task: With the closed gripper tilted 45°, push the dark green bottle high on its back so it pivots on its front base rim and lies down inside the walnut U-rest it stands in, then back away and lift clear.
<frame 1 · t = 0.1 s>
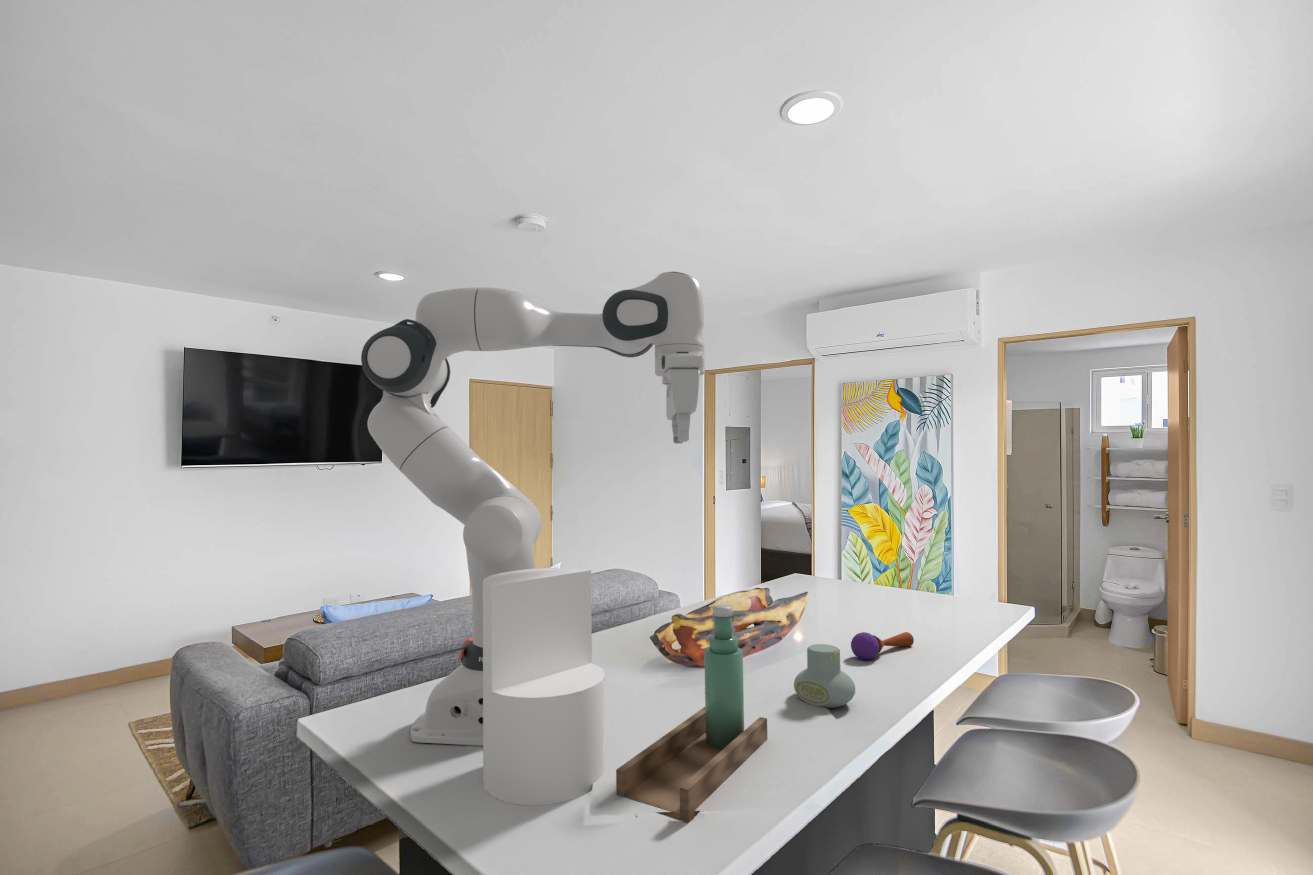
hand: (680, 442, 116), 48 cm above the kitchen island, tool pointing down, fingers open, 8 cm apart
u rest: (698, 769, 95), on the kitchen island
bottle: (725, 741, 102), point 1 cm above the kitchen island, touching u rest
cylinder: (545, 775, 94), on the kitchen island
air freshener: (824, 704, 120), on the kitchen island
purple maraca: (883, 654, 152), on the kitchen island
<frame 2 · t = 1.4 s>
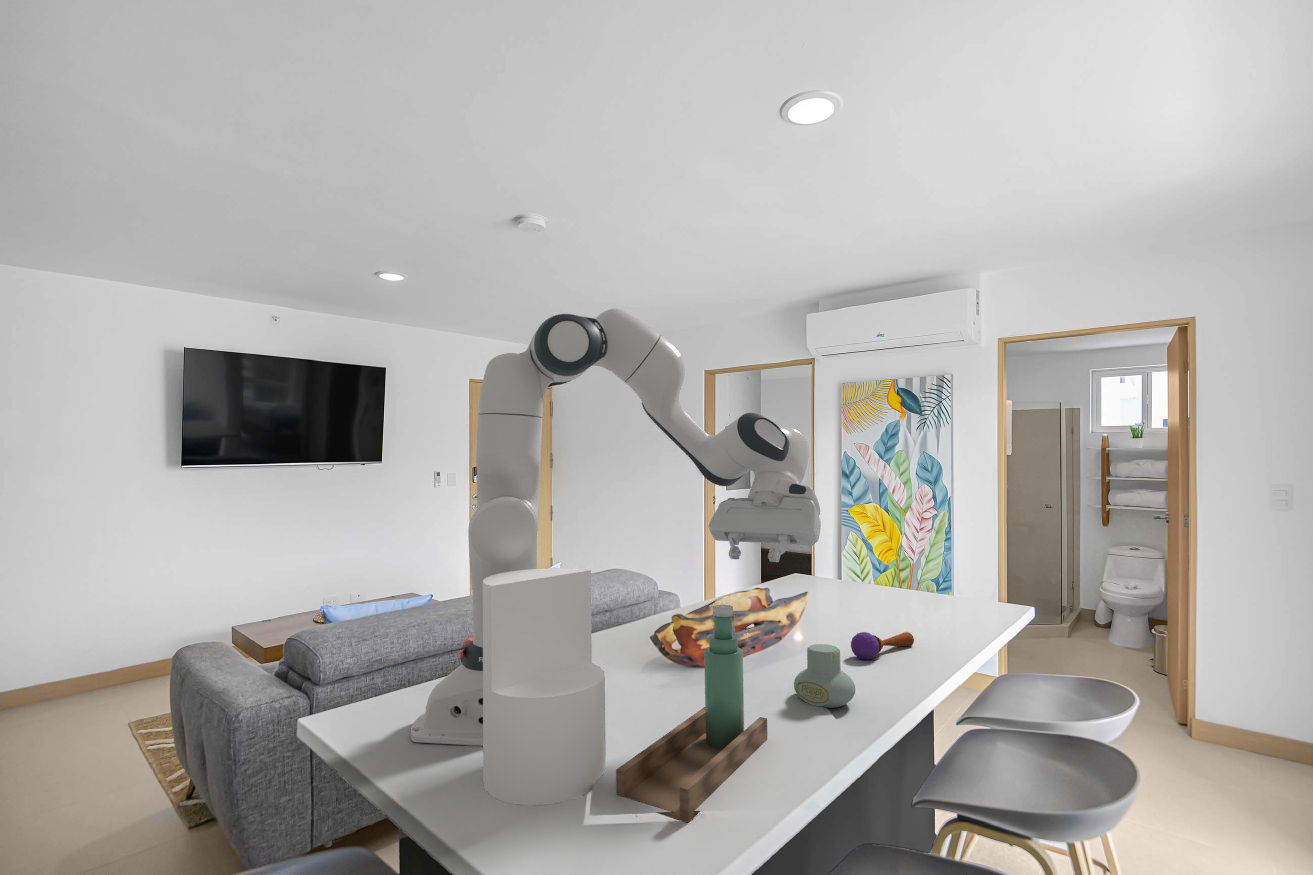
hand: (752, 558, 114), 28 cm above the kitchen island, tool tilted 45°, fingers open, 6 cm apart
nothing on the kitchen island moved.
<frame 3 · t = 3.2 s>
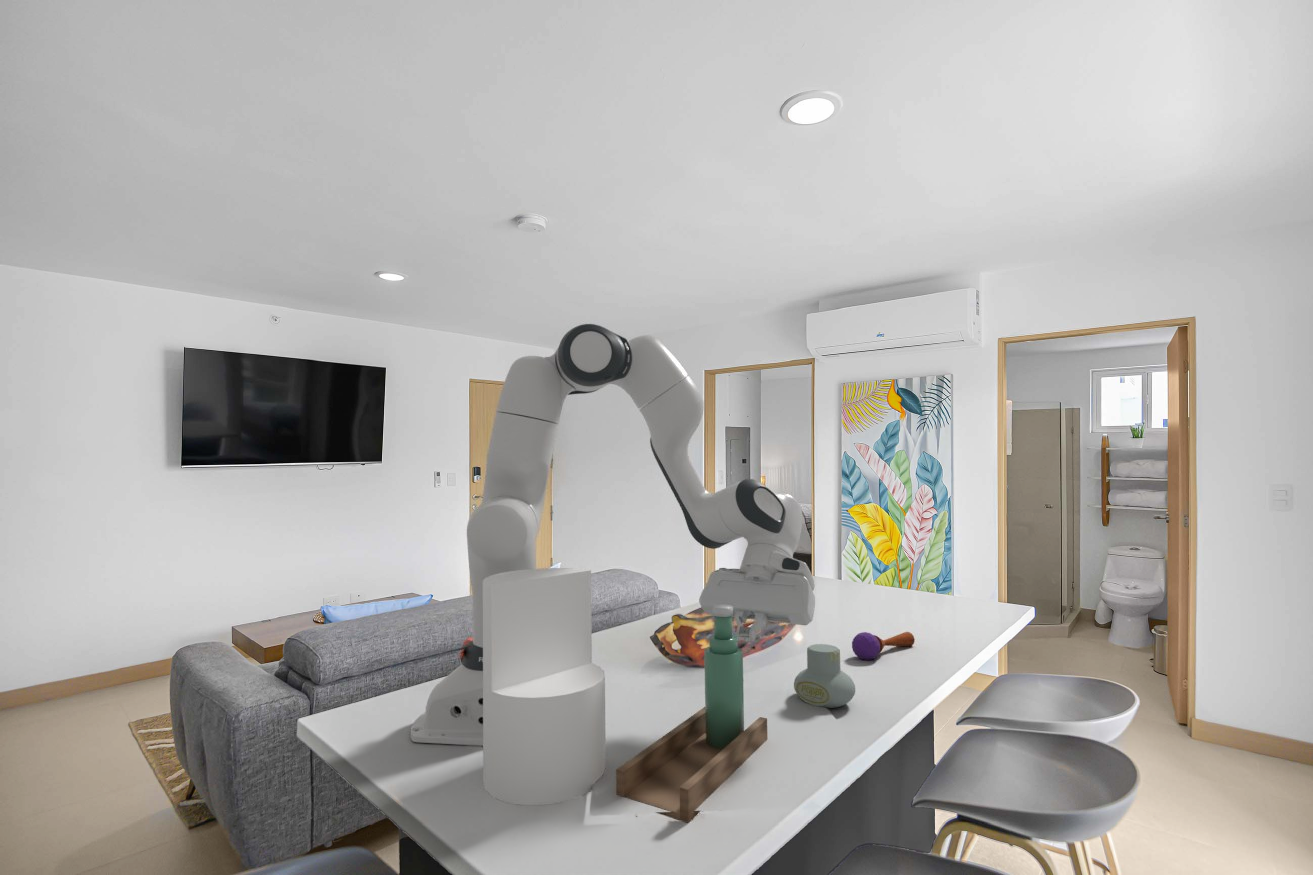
hand: (744, 638, 110), 15 cm above the kitchen island, tool tilted 45°, fingers closed
nothing on the kitchen island moved.
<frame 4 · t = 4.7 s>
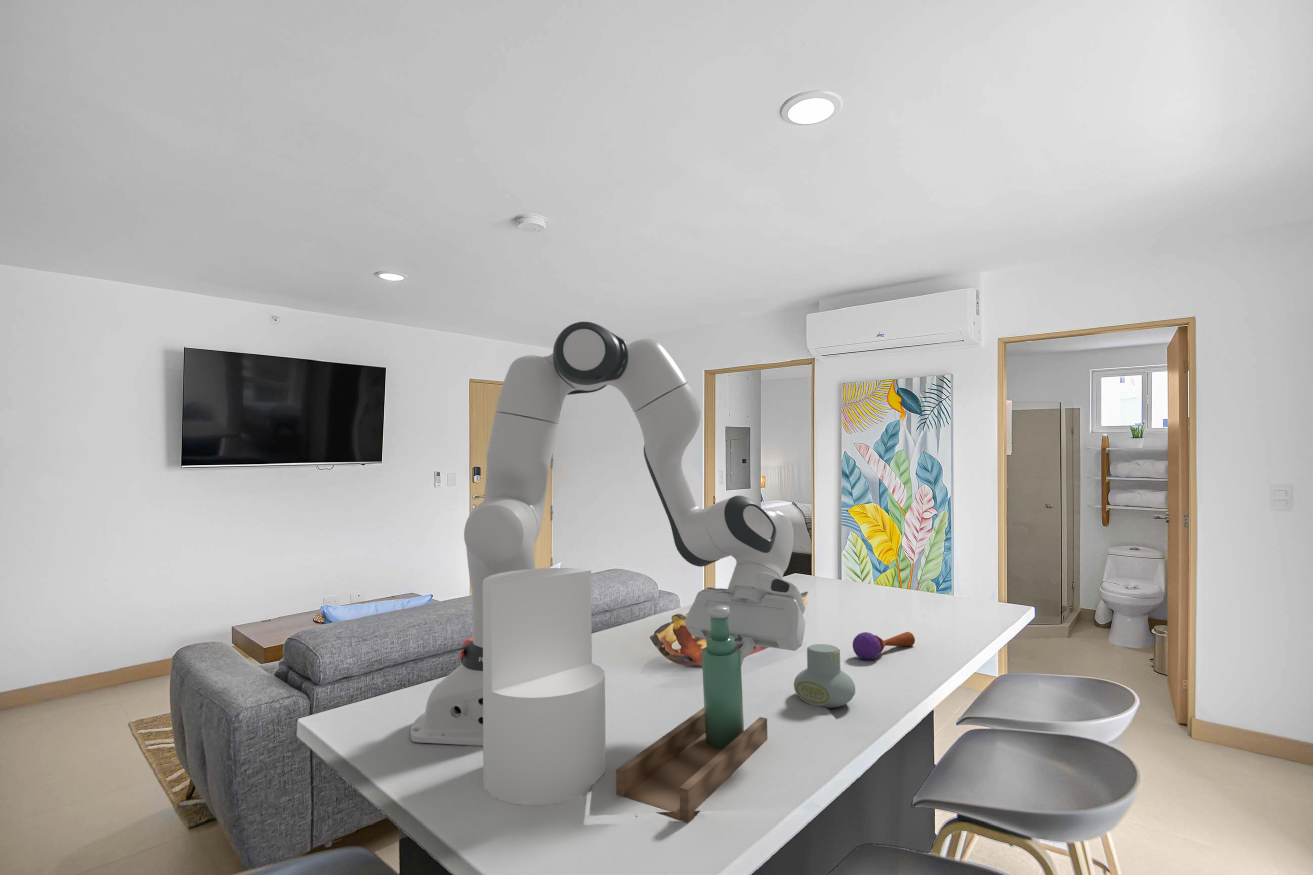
hand: (730, 663, 105), 12 cm above the kitchen island, tool tilted 45°, fingers closed
bottle: (725, 739, 102), point 1 cm above the kitchen island, touching gripper, u rest
everything else where it was.
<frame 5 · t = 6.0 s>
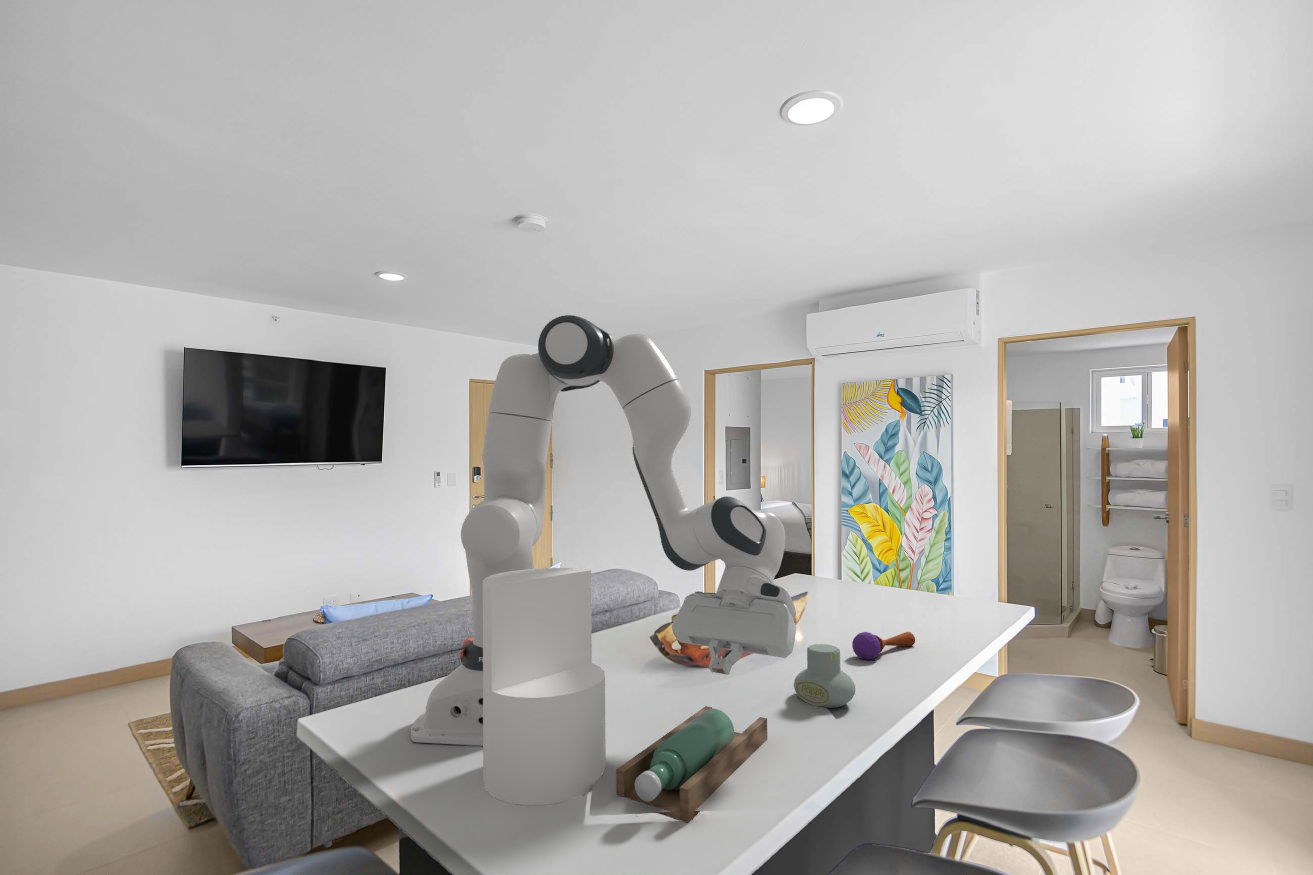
hand: (718, 671, 101), 12 cm above the kitchen island, tool tilted 45°, fingers closed
bottle: (716, 728, 100), point 4 cm above the kitchen island, tilted 90°, touching u rest
everything else where it was.
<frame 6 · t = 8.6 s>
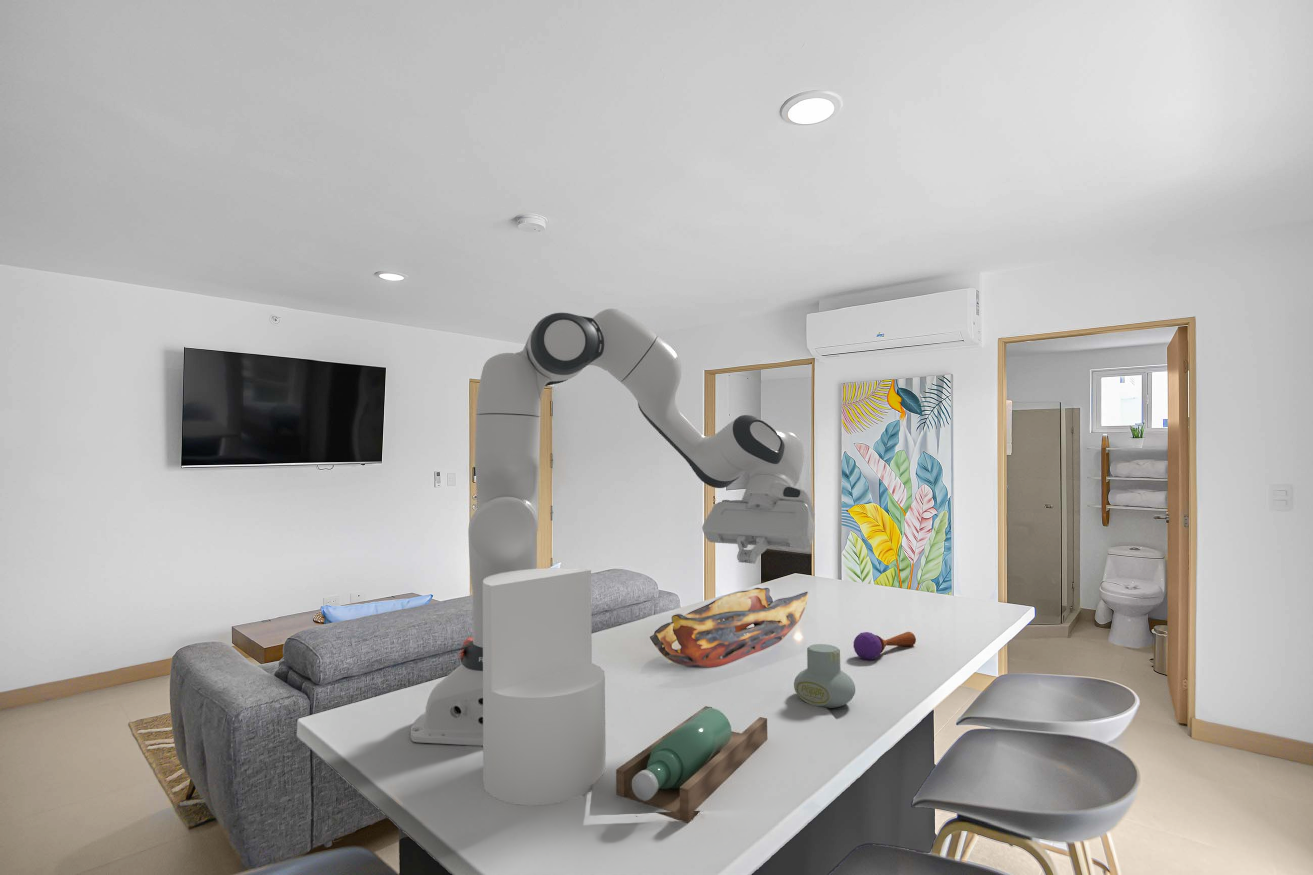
hand: (745, 560, 114), 27 cm above the kitchen island, tool tilted 45°, fingers closed
nothing on the kitchen island moved.
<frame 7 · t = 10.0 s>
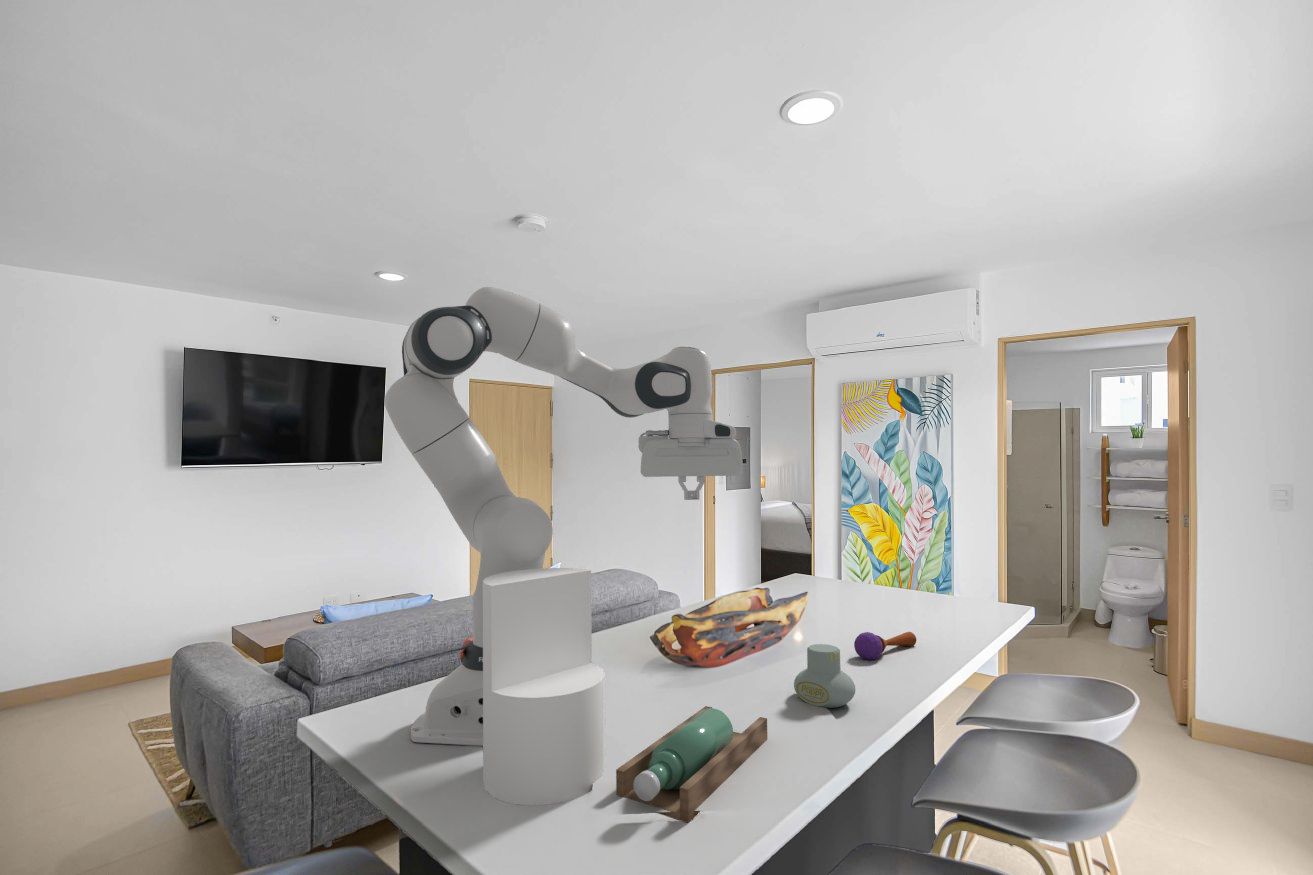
hand: (691, 499, 130), 37 cm above the kitchen island, tool pointing down, fingers closed
nothing on the kitchen island moved.
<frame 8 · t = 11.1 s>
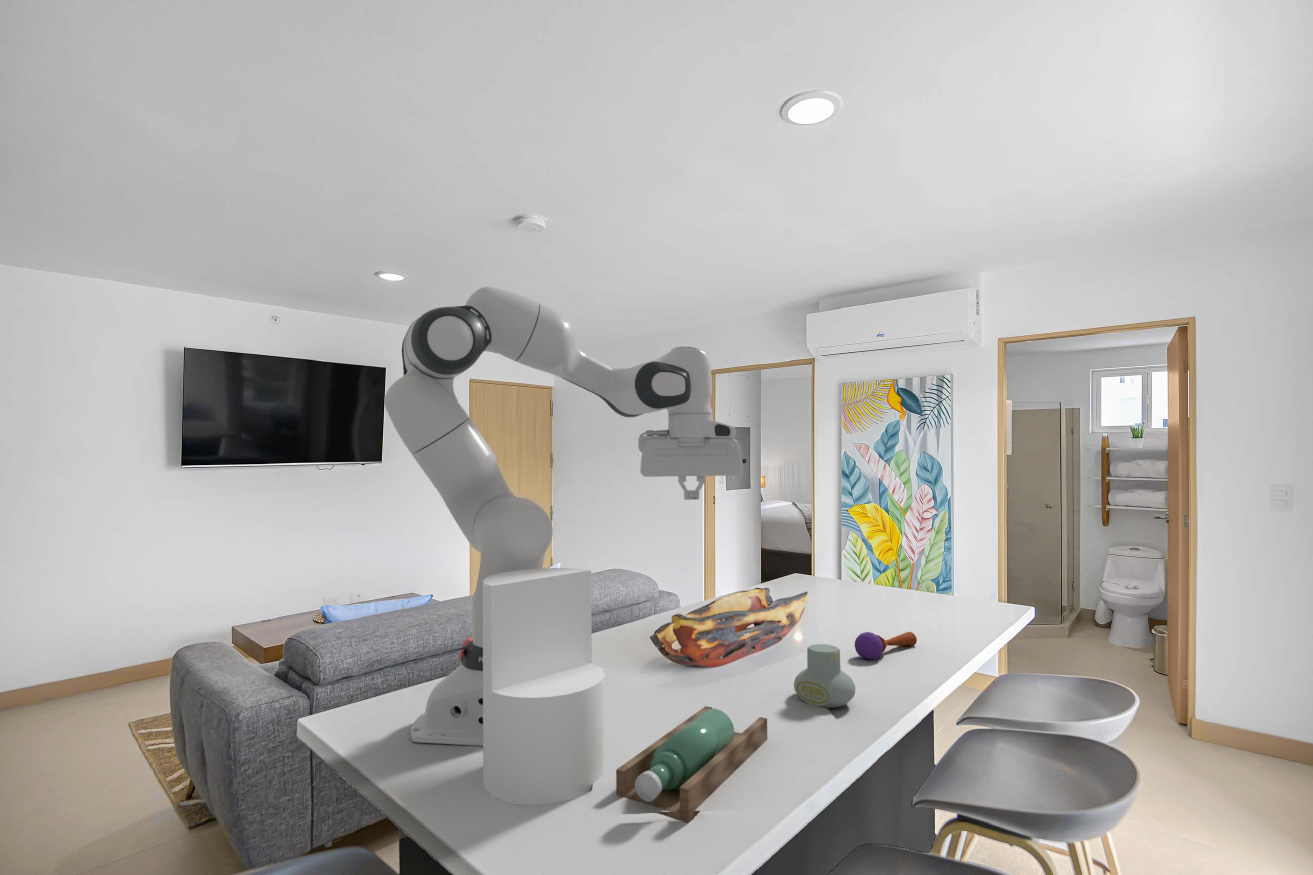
hand: (691, 499, 130), 37 cm above the kitchen island, tool pointing down, fingers closed
nothing on the kitchen island moved.
at the end: bottle tilted 90°; bottle touching u rest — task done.
